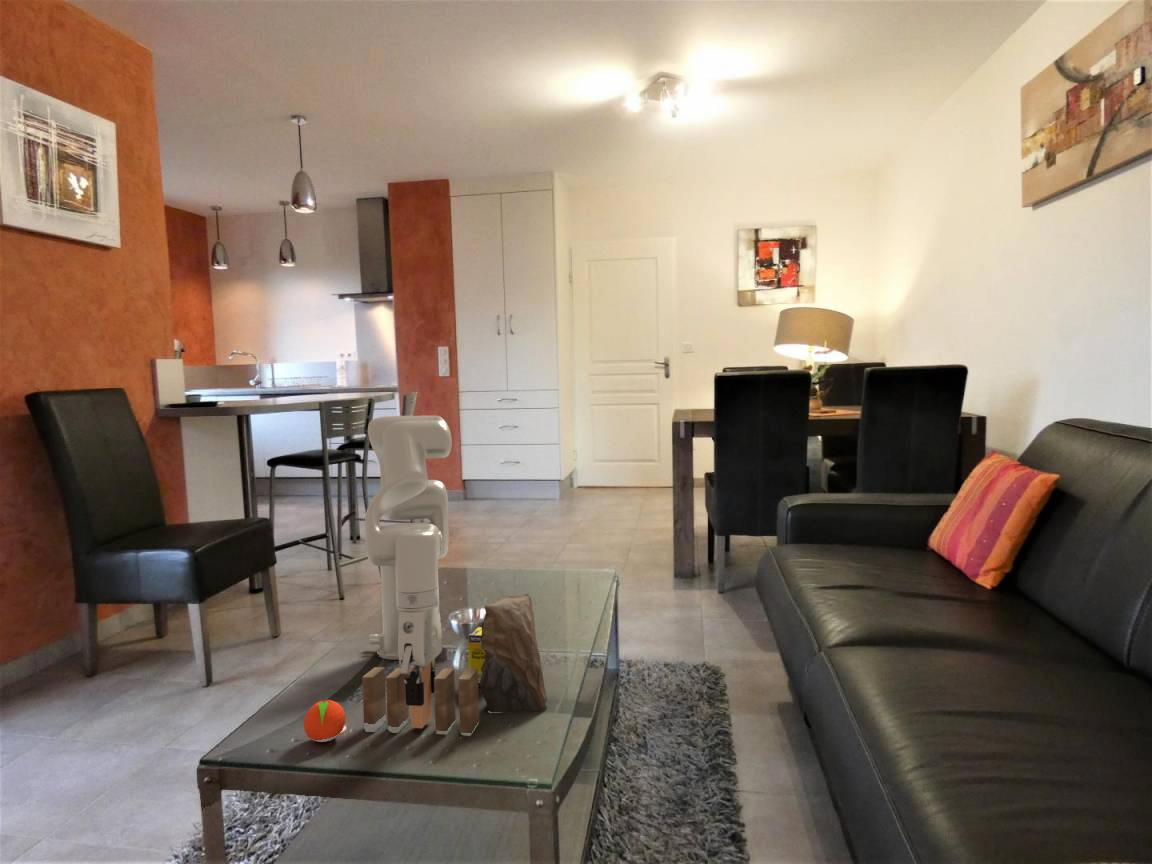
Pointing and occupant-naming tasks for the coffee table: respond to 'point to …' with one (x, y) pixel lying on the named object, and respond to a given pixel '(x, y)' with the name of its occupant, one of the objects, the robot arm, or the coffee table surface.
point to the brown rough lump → (511, 657)
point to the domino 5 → (468, 700)
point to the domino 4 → (444, 699)
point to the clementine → (324, 720)
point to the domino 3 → (424, 712)
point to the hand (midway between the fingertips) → (421, 697)
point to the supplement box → (476, 652)
